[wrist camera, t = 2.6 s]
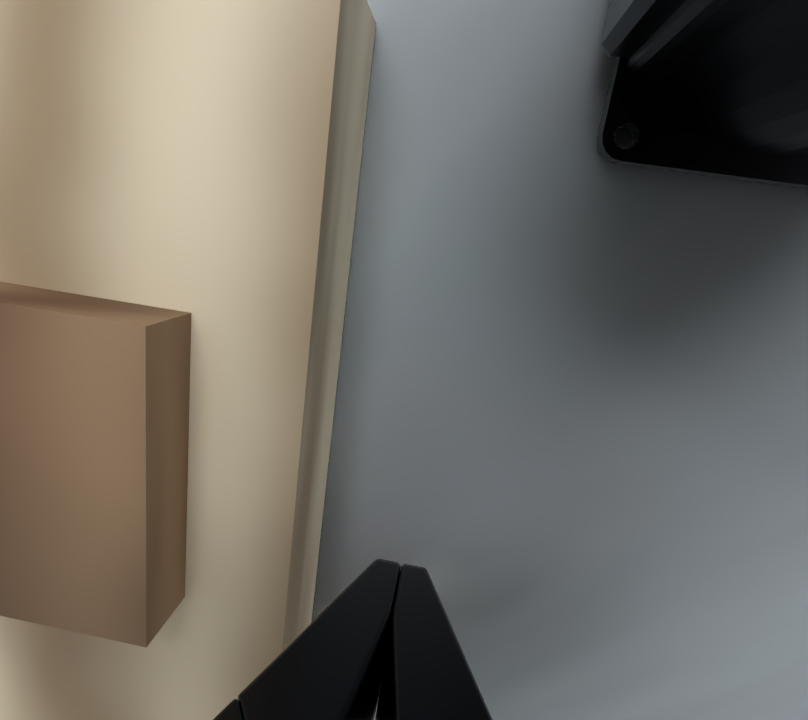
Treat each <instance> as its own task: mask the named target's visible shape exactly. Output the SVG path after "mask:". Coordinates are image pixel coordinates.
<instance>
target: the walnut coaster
mask: <svg viewBox="0 0 808 720" xmlns="http://www.w3.org/2000/svg"><path fill="white" fill-rule="evenodd" d="M190 354H191V313H190V312H183V311H177V310H171V309H165V308H159V307H153V306H147V305H141V304H135V303H128V302H122V301H116V300H110V299H104V298H98V297H92V296H86V295H80V294H73V293H67V292H61V291H55V290H49V289H43V288H37V287H31V286H25V285H18V284H12V283H6V282H0V616H4V617H8V618H13V619H17V620H22V621H27V622H31V623H36V624H40V625H45V626H50V627H54V628H59V629H63V630H68V631H72V632H77V633H82V634H86V635H91V636H95V637H100V638H104V639H109V640H114V641H118V642H123V643H127V644H132V645H137V646H141V647H146V648H147V646H148V645H149V644H150V642H151V641H152V640H153V638H154V637H155V636H156V634H157V633H158V632H159V630H160V629H161V628H162V627H163V625H164V624H165V623H166V621H167V620H168V619H169V617H170V616H171V615H172V613H173V612H174V611H175V609H176V608H177V607H178V605H179V604H180V603H181V601H182V600H183V599H184V598H185V573H186V530H187V486H188V442H189V398H190Z"/></svg>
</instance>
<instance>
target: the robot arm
mask: <svg viewBox="0 0 808 720" xmlns="http://www.w3.org/2000/svg"><path fill="white" fill-rule="evenodd" d="M601 43H602V45H603V47H604V49H605V51H606V53H607V55H608V56H612V57H616V58H615V62H614V67H613V71H612V76H611V80H610V85H609V89H608V93H607V98H606V102H605V107H604V111H603V115H602V120H601V124H600V129H599V133H598V143H597V146H598V149H599V152H600V154H601V155H602V156H603V157H604V158H605V159H606V160H607V161H609V162H612V163H615V164H622V165H630V166H637V167H645V168H653V169H660V170H668V171H676V172H683V173H691V174H698V175H706V176H714V177H721V178H729V179H737V180H744V181H752V182H759V183H767V184H775V185H782V186H790V187H798V188H805V189H808V0H610V4H609V9H608V14H607V18H606V23H605V27H604V32H603V37H602V42H601ZM618 127H626V128H628V129H630V131H631V132H632V134H633V142H632V144H631V145H630V147H629V148H628V149H622V148H620V147H618V146H617V145H616V143H615V142H614V134H615V132H616V130H617V128H618ZM400 568H401V570H400ZM379 691H380V693H379ZM378 697H379V699H378ZM377 702H378V706H377ZM376 707H377V712H376ZM375 712H376V720H492V718H491V716H490V713H489V711H488V709H487V707H486V704H485V702H484V700H483V697H482V695H481V693H480V690H479V688H478V686H477V684H476V681H475V679H474V677H473V674H472V672H471V670H470V668H469V665H468V663H467V661H466V658H465V656H464V654H463V651H462V649H461V647H460V645H459V642H458V640H457V638H456V635H455V633H454V631H453V629H452V626H451V624H450V622H449V619H448V617H447V615H446V612H445V610H444V608H443V606H442V603H441V601H440V599H439V596H438V594H437V592H436V590H435V587H434V585H433V583H432V580H431V578H430V576H429V574H428V571H427V570H426V569H425V568H423V567H418V566H413V565H408V564H404V565H402V566H400V564H399V563H397V562H393V561H388V560H383V559H377V560H375V561H374V562H373V563H372V564H371V565H370V566H369V567H368V568H367V569H366V570H365V571H364V572H363V573H362V574H361V575H360V576H359V577H358V578H357V579H356V580H355V581H354V582H353V583H352V584H351V585H350V586H349V587H348V588H347V589H345V590H344V591H343V592H342V593H341V594H340V595H339V596H338V597H337V598H336V599H335V600H334V601H333V602H332V603H331V604H330V605H329V606H328V607H327V608H326V609H325V610H324V611H323V612H322V613H321V614H320V615H319V616H318V617H317V618H316V619H315V620H314V621H313V622H312V623H311V624H310V625H309V626H308V627H307V628H306V629H305V630H304V631H303V632H302V633H301V634H300V635H299V636H298V637H297V638H296V639H295V640H294V641H293V642H292V643H291V644H290V645H289V646H288V647H287V648H286V649H285V650H283V651H282V652H281V653H280V654H279V655H278V656H277V657H276V658H275V659H274V660H273V661H272V662H271V663H270V664H269V665H268V666H267V667H266V668H265V669H264V670H263V671H262V672H261V673H260V674H259V675H258V676H257V677H256V678H255V679H254V680H253V681H252V682H251V683H250V684H249V685H248V686H247V687H246V688H245V689H244V690H243V691H242V692H241V693H240V694H239V695H238V700H237V699H233V700H232V701H231V702H230V703H229V704H228V705H227V706H226V707H225V708H224V709H223V710H222V711H221V712H220V713H219V714H218V715H217V716H216V717H215V718H214V719H213V720H374V716H375Z"/></svg>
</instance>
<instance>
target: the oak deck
mask: <svg viewBox="0 0 808 720" xmlns="http://www.w3.org/2000/svg"><path fill="white" fill-rule="evenodd" d="M375 28H376V22H375V20H374V17H373V15H372V13H371V10H370V8H369V5H368V3H367V0H0V282H6V283H12V284H18V285H25V286H31V287H37V288H43V289H49V290H55V291H61V292H67V293H73V294H80V295H86V296H92V297H98V298H104V299H110V300H116V301H122V302H128V303H135V304H141V305H147V306H153V307H159V308H165V309H171V310H177V311H183V312H190V313H191V354H190V398H189V442H188V486H187V530H186V573H185V598H184V599H183V600H182V601H181V603H180V604H179V605H178V607H177V608H176V609H175V611H174V612H173V613H172V615H171V616H170V617H169V619H168V620H167V621H166V623H165V624H164V625H163V627H162V628H161V629H160V630H159V632H158V633H157V634H156V636H155V637H154V638H153V640H152V641H151V642H150V644H149V645H148V646H147V648H146V647H141V646H137V645H132V644H127V643H123V642H118V641H114V640H109V639H104V638H100V637H95V636H91V635H86V634H82V633H77V632H72V631H68V630H63V629H59V628H54V627H50V626H45V625H40V624H36V623H31V622H27V621H22V620H17V619H13V618H8V617H4V616H0V720H213V719H214V718H215V717H216V716H217V715H218V714H219V713H220V712H221V711H222V710H223V709H224V708H225V707H226V706H227V705H228V704H229V703H230V702H231V701H232V700H233V699H237V700H238V695H239V694H240V693H241V692H242V691H243V690H244V689H245V688H246V687H247V686H248V685H249V684H250V683H251V682H252V681H253V680H254V679H255V678H256V677H257V676H258V675H259V674H260V673H261V672H262V671H263V670H264V669H265V668H266V667H267V666H268V665H269V664H270V663H271V662H272V661H273V660H274V659H275V658H276V657H277V656H278V655H279V654H280V653H281V652H282V651H283V650H285V649H286V648H287V647H288V646H289V645H290V644H291V643H292V642H293V641H294V640H295V639H296V638H297V637H298V636H299V635H300V634H301V633H302V632H303V631H304V630H305V629H306V628H307V627H308V626H309V625H310V624H311V622H312V612H313V603H314V594H315V584H316V575H317V566H318V557H319V547H320V538H321V529H322V520H323V510H324V501H325V492H326V483H327V473H328V464H329V455H330V445H331V436H332V427H333V418H334V408H335V399H336V390H337V381H338V371H339V362H340V353H341V344H342V334H343V325H344V316H345V306H346V297H347V288H348V279H349V269H350V260H351V251H352V242H353V232H354V223H355V214H356V205H357V195H358V186H359V177H360V167H361V158H362V149H363V140H364V130H365V121H366V112H367V103H368V93H369V84H370V75H371V65H372V56H373V47H374V38H375Z"/></svg>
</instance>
